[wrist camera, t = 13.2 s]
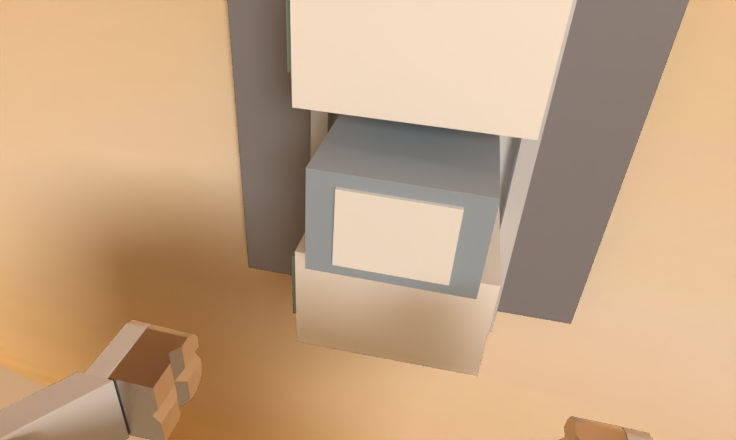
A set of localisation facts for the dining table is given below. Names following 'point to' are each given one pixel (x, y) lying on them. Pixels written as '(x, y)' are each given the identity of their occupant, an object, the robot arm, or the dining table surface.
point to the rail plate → (560, 165)
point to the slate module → (402, 204)
